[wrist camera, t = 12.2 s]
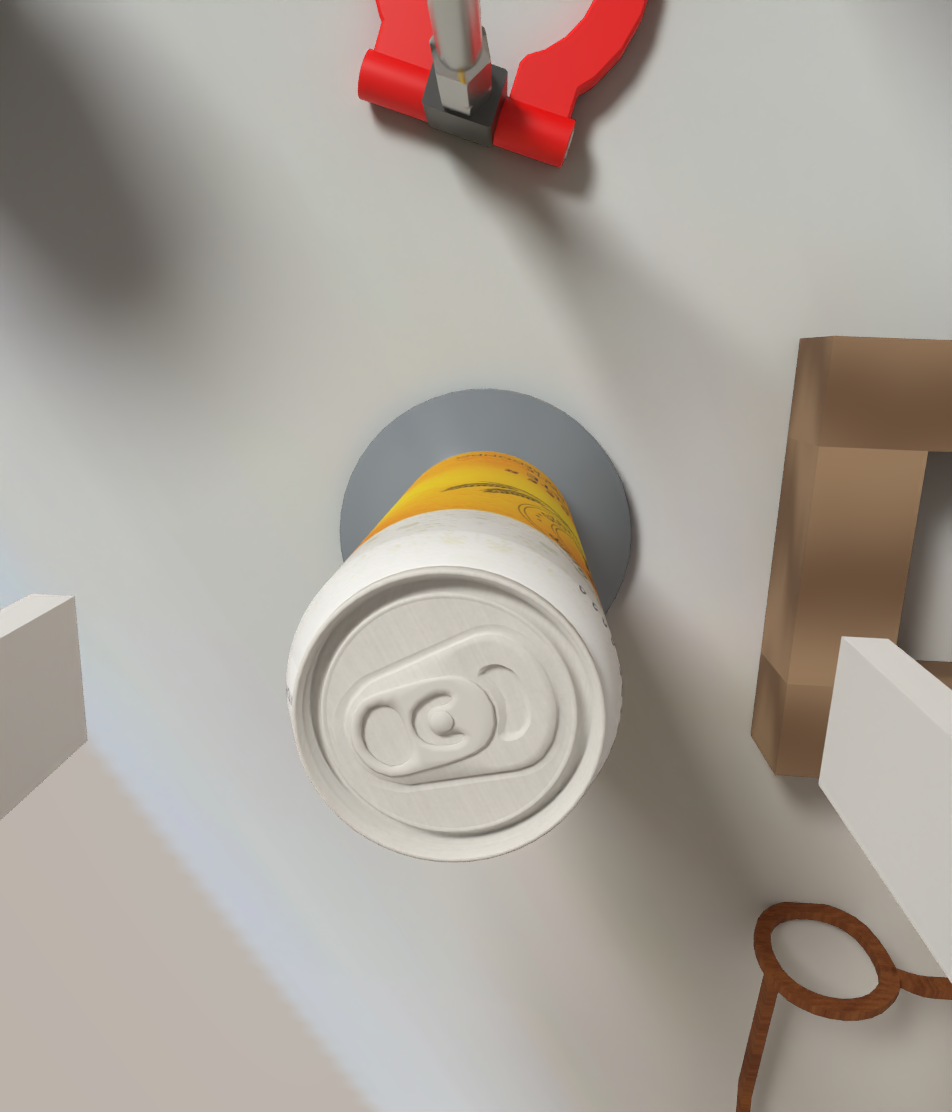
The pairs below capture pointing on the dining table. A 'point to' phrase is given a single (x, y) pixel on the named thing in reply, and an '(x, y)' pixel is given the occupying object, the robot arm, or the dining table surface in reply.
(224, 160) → the dining table surface
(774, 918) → the glasses
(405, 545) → the beer can
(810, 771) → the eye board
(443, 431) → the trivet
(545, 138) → the tow hook
